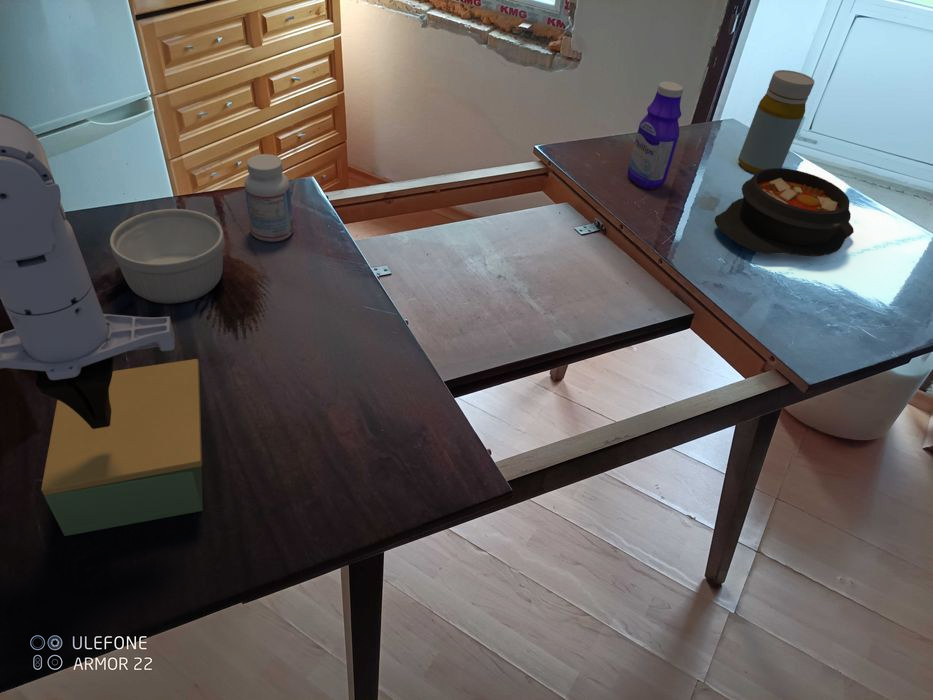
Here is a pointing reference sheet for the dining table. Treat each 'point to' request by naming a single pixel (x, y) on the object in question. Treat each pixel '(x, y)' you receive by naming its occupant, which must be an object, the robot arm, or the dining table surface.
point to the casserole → (788, 214)
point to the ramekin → (169, 254)
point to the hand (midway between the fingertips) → (101, 419)
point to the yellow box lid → (130, 430)
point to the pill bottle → (268, 199)
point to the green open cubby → (128, 501)
